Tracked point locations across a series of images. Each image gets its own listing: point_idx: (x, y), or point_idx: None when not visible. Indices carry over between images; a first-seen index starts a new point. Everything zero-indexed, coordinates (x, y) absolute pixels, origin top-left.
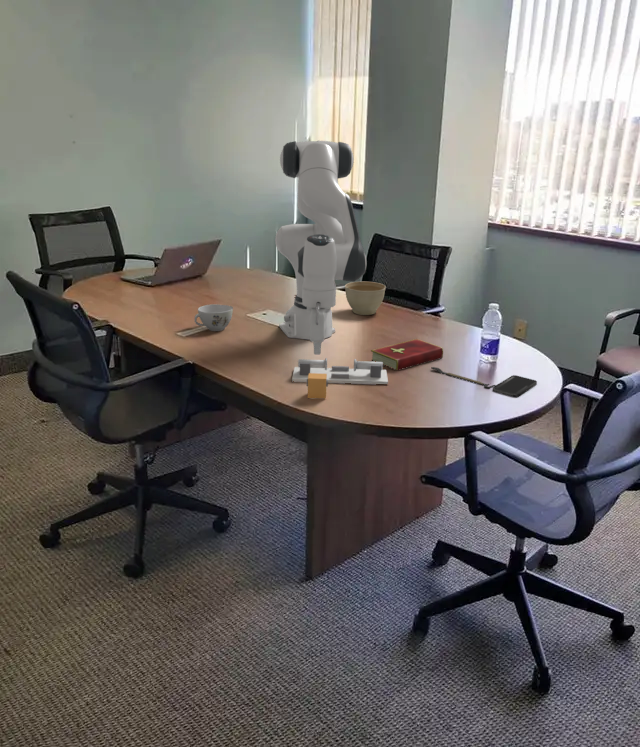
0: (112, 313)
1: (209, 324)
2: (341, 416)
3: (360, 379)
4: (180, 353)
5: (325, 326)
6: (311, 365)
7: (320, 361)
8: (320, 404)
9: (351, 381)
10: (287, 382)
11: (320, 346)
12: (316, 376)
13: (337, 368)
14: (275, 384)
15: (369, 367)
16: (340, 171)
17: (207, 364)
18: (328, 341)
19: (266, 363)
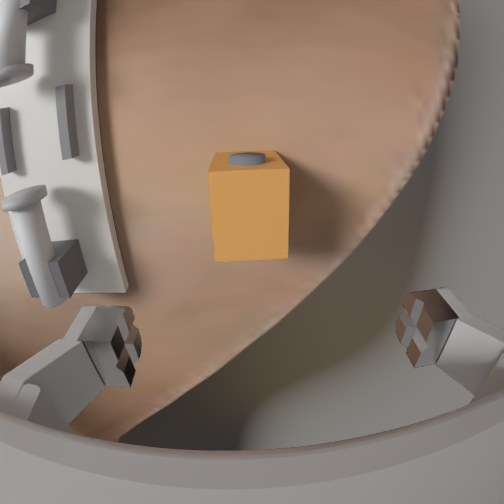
0: None
1: None
2: (420, 101)
3: (76, 39)
4: None
5: (125, 485)
6: (52, 251)
7: (27, 224)
8: (328, 169)
9: (91, 69)
10: (138, 298)
11: (492, 327)
12: (258, 221)
13: (8, 150)
14: (165, 327)
15: (25, 15)
16: None
17: (106, 433)
18: None
19: (38, 351)
